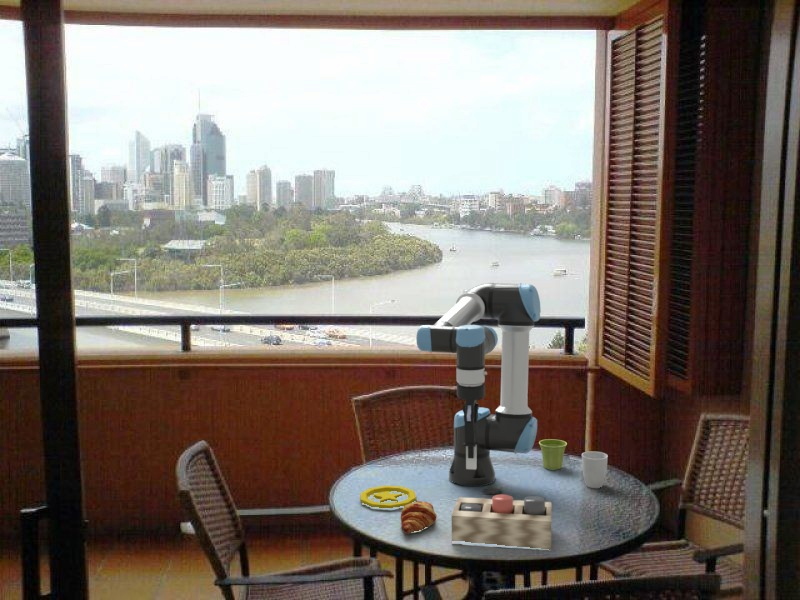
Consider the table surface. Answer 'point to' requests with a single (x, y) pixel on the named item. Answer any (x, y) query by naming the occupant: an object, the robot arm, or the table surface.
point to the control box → (501, 525)
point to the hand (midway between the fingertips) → (471, 468)
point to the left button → (471, 507)
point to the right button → (534, 506)
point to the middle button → (502, 504)
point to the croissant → (417, 516)
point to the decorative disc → (387, 496)
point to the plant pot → (552, 453)
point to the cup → (594, 468)
